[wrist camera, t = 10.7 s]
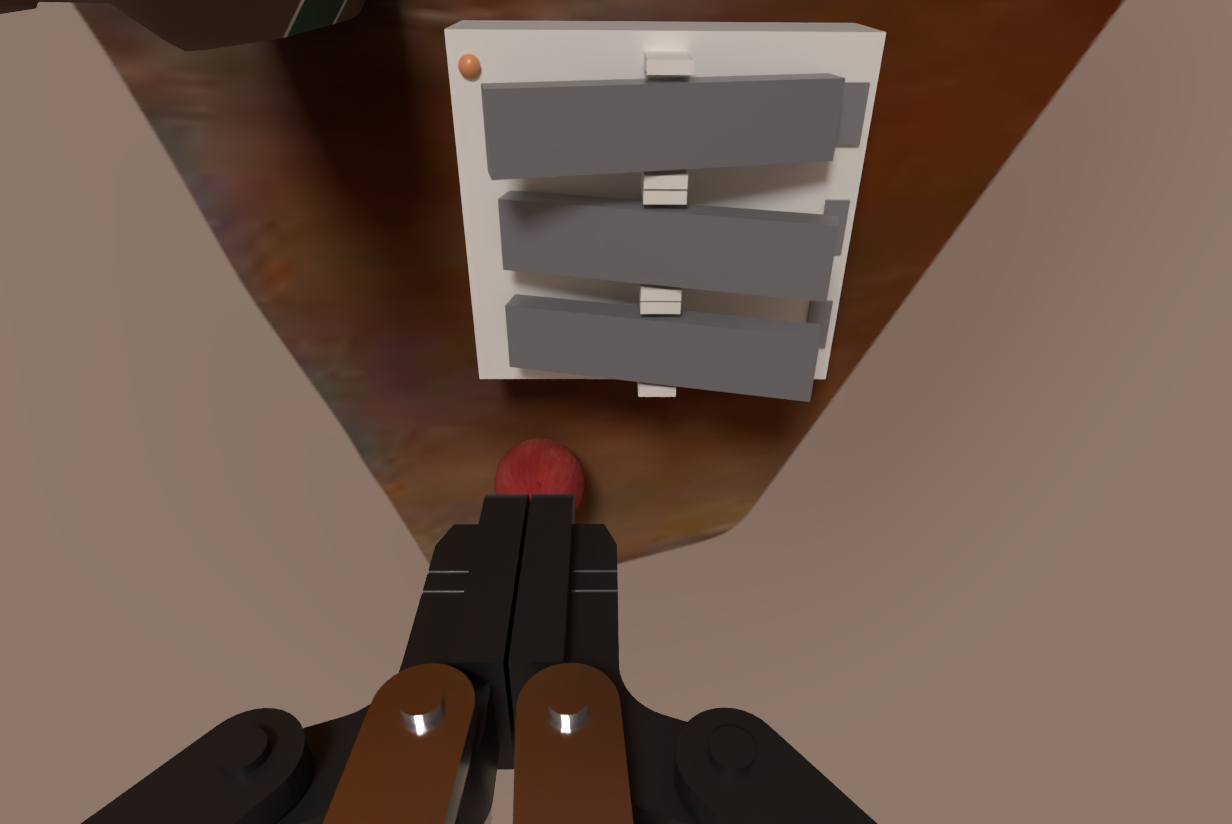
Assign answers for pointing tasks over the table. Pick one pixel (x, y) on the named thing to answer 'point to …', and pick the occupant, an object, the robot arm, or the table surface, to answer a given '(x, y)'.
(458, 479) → the table surface
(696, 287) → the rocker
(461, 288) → the table surface
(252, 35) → the beer bottle
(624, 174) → the board rack
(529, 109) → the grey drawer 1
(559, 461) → the onion
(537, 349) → the grey board
